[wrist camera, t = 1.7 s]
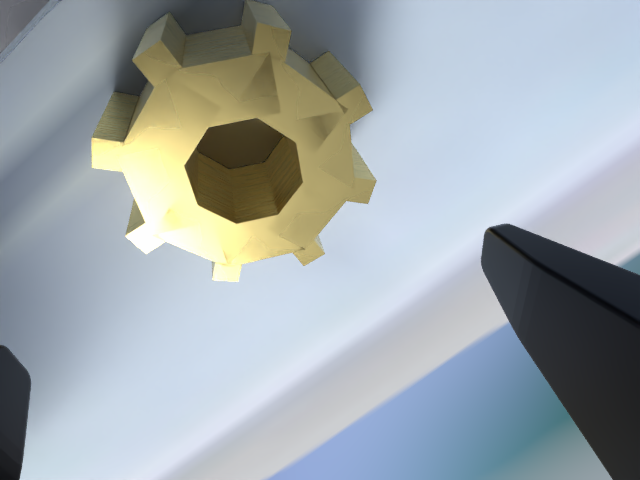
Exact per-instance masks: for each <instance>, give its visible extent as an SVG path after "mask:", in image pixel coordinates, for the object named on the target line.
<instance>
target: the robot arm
mask: <svg viewBox="0 0 640 480" xmlns="http://www.w3.org/2000/svg"><path fill="white" fill-rule="evenodd" d="M481 265H482V269H483V271H484V274H485V276H486V277H487V279H488V281H489V283H490V285H491V287H492V289H493V291H494V293H495V295H496V297H497V299H498V301H499V303H500V305H501V307H502V308H503V310H504V312H505V314H506V316H507V318H508V320H509V322H510V324H511V326H512V327H513V329H514V331H515V333H516V335H517V336H518V338H519V340H520V341H521V343H522V344H523V346H524V347H525V349H526V350H527V352H528V353H529V355H530V356H531V358H532V359H533V361H534V362H535V364H536V365H537V367H538V368H539V370H540V371H541V373H542V374H543V376H544V377H545V379H546V380H547V382H548V383H549V385H550V386H551V388H552V389H553V391H554V392H555V394H556V395H557V397H558V398H559V400H560V401H561V403H562V404H563V406H564V407H565V409H566V410H567V412H568V413H569V415H570V416H571V418H572V419H573V421H574V422H575V424H576V425H577V427H578V428H579V430H580V431H581V433H582V434H583V436H584V437H585V439H586V440H587V442H588V443H589V445H590V446H591V448H592V449H593V451H594V452H595V454H596V455H597V456H598V458H599V460H600V461H601V463H602V464H603V466H604V467H605V469H606V470H607V471H608V473H609V475H610V476H611V478H612V479H613V480H640V275H638V274H636V273H633V272H631V271H628V270H625V269H623V268H621V267H618V266H615V265H613V264H610V263H608V262H605V261H603V260H600V259H598V258H595V257H593V256H590V255H587V254H585V253H582V252H580V251H577V250H575V249H572V248H570V247H567V246H564V245H562V244H559V243H557V242H554V241H552V240H549V239H547V238H544V237H542V236H539V235H536V234H534V233H531V232H529V231H526V230H524V229H521V228H519V227H516V226H513V225H511V224H501V225H497V226H493V227H489V228H488V229H487V230H486V231H485V234H484V241H483V248H482V256H481ZM30 390H31V379H30V375H29V373H28V371H27V370H26V369H25V368H24V366H23V365H22V364H21V363H20V362H19V361H18V359H17V358H16V357H15V356H14V355H13V354H12V352H11V351H10V350H9V349H8V348H7V347H5V346H3V345H0V480H19V479H20V474H21V469H22V462H23V455H24V446H25V437H26V428H27V418H28V409H29V399H30Z"/></svg>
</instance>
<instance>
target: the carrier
mask: <svg viewBox="0 0 640 480" xmlns="http://www.w3.org/2000/svg"><path fill="white" fill-rule="evenodd" d="M60 1H61V0H0V63H1V62H2V61H3V60H4V59H5V58H6V57H7V56H8V55H9V54H10V53H11V51H12V50H13V49H14V48H15V47H16V46H17V45H18V44H19V43H20V42H21V41H22V40H23V38H24V37H25V36H26V35H27V34H28V33H29V32H30V31H31V30H32V29H33V28H34V27H35V25H36V24H37V23H38V22H39V21H40V20H41V19H42V18H43V17H44V16H45V15H46V14H47V13H48V12H49V11H50V10H51V9H53V8H54V7H55V6H56V5H57V4H58V3H59V2H60Z"/></svg>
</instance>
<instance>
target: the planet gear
mask: <svg viewBox="0 0 640 480" xmlns="http://www.w3.org/2000/svg"><path fill="white" fill-rule="evenodd" d="M291 32H292V31H291V30H290V28H289V27H288V26H287V24H286V23H285V22H284V20H283V19H282V18H281V16H280V15H279V14H278V13H277V11H276V10H275V9H274V7H273V6H271V5H267V4H264V3H260V2H256V1H252V0H245V2H244V9H243V15H242V22H241V25H239V26H234V27H228V28H222V29H217V30H211V31H206V32H200V33H195V34H189V35H186V34H185V33H184V31H183V30H182V29H181V27H180V26H179V24H178V23H177V22H176V20H175V19H174V18H173V16H172V15H171V13H170V12H168V13H167V14H166V15H164V16H163V17H161V18H160V19H159V20H157V21H156V22H154V23H153V24H152V25H150V26H149V27H148V28H147V29H146V31H145V33H144V35H143V37H142V39H141V42H140V44H139V46H138V48H137V50H136V52H135V55H134V57H133V59H132V61H133V62H134V63H135V65H136V66H137V67H138V68H139V69H140V71H141V72H142V73H143V74H144V75H145V77H146V78H147V79H148V81H147V83H146V85H145V87H144V89H143V90H142V92H141V94H140V96H135V95H130V94H124V93H119V92H113V94H112V96H111V98H110V101H109V103H108V105H107V107H106V109H105V111H104V113H103V115H102V117H101V119H100V121H99V123H98V125H97V128H96V130H95V132H94V134H93V136H92V168H99V169H106V170H114V171H123V173H124V175H125V177H126V179H127V182H128V184H129V186H130V188H131V191H132V193H133V195H134V201H133V206H132V210H131V214H130V218H129V223H128V227H127V231H126V237H127V238H128V239H129V240H131V241H132V242H133V243H134V244H135V245H136V246H137V247H139V248H140V249H141V250H142V251H143V252H144V253H148V252H150V251H151V250H153V249H154V248H156V247H157V246H159V245H161V244H162V243H164V242H165V241H166V242H169V243H171V244H173V245H176V246H178V247H181V248H183V249H185V250H188V251H190V252H193V253H195V254H197V255H200V256H202V257H205V258H207V259H209V260H212V278H213V280H220V281H236V282H238V279H239V275H240V270H241V265H242V264H245V263H249V262H253V261H257V260H262V259H266V258H270V257H275V256H279V255H283V254H288V253H292V252H293V254H294V255H295V256H296V257H297V258H298V260H299V261H300V262H301V263H302V264H303V266H305V265H307V264H308V263H310V262H312V261H313V260H315V259H317V258H319V257H320V256H322V255H324V254H325V253H324V250H323V247H322V244H321V242H320V239H319V236H318V234H319V233H320V232H321V230H322V229H323V228H324V227H325V226H326V225H327V223H328V222H329V221H330V220H331V219H332V217H333V216H334V215H335V214H336V213H337V211H338V210H339V209H340V208H341V207H342V205H343V204H344V203H345V202H346V201H350V202H358V203H365V204H368V202H369V200H370V197H371V194H372V191H373V189H374V186H375V183H376V179H375V178H374V176H373V175H372V173H371V172H370V170H369V169H368V167H367V165H366V164H365V162H364V161H363V159H362V158H361V156H360V155H359V153H358V152H357V150H356V149H355V147H354V146H353V144H352V143H351V134H350V124H352V123H353V122H355V121H357V120H358V119H360V118H361V117H363V116H364V115H366V114H368V113H369V112H371V111H372V110H373V109H372V107H371V105H370V103H369V101H368V99H367V97H366V95H365V94H364V92H363V90H362V88H361V86H360V84H359V83H358V82H357V81H356V80H355V79H354V78H353V76H352V75H351V74H350V73H349V72H348V71H347V70H346V69H345V68H344V67H343V66H342V65H341V64H340V62H339V61H338V60H337V59H336V58H335V57H334V56H333V55H332V54H331V53H330V52H329V51H328V52H326V53H325V54H323V55H322V56H320V57H319V58H317V59H316V60H314V61H313V62H311V63H310V64H309V63H308V62H307V61H305V60H304V59H303V58H301V57H300V56H299V55H298V54H296V53H295V52H294V51H292V50H291V49H290V48H288V46H289V41H290V36H291ZM254 118H258V119H260V120H261V121H263V122H264V123H266V124H267V125H269V126H271V127H272V128H274V129H275V130H277V131H279V132H280V133H282V134H283V135H284V136H283V137H282V139H281V140H280V141H279V143H278V144H277V146H276V147H275V148H274V150H273V151H272V153H271V154H270V155H269V157H268V158H267V160H266V161H265V162H263V163H259V164H254V165H249V166H244V167H240V168H235V169H228V168H226V167H225V166H223V165H221V164H219V163H217V162H215V161H214V160H212V159H210V158H208V157H206V156H204V155H203V154H201V153H199V152H198V150H197V147H196V146H197V145H198V143H199V142H200V140H201V138H202V137H203V135H204V134H205V132H206V131H207V129H208V128H209V127H214V126H219V125H224V124H229V123H234V122H239V121H244V120H249V119H254Z"/></svg>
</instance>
